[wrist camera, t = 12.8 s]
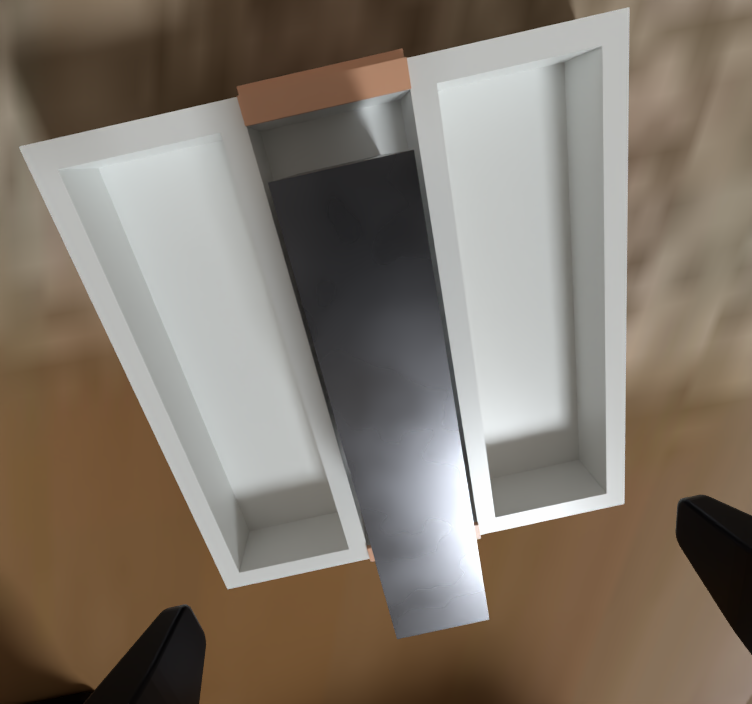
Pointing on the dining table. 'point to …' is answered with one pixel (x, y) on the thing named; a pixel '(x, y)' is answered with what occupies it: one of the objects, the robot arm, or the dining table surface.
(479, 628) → the dining table surface
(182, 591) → the dining table surface
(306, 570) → the slot rack
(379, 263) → the panel
